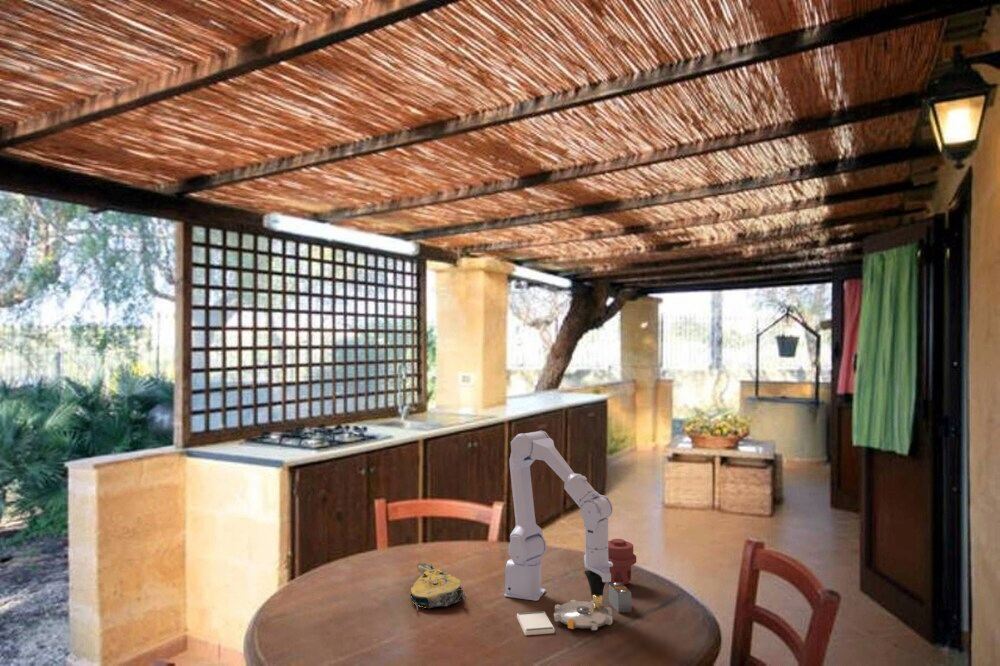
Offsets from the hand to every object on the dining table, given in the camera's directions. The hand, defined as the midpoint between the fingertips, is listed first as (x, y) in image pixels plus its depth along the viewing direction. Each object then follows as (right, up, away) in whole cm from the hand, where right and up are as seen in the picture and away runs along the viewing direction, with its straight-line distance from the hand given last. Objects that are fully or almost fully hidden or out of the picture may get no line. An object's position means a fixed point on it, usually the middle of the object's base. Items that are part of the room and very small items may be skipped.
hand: (597, 600), depth 157 cm
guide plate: (-16, -4, -6) cm, 17 cm away
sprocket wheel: (-4, -4, -4) cm, 7 cm away
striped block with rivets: (+7, -4, +5) cm, 9 cm away
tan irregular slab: (-42, -5, +16) cm, 45 cm away
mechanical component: (+9, -5, +21) cm, 24 cm away
